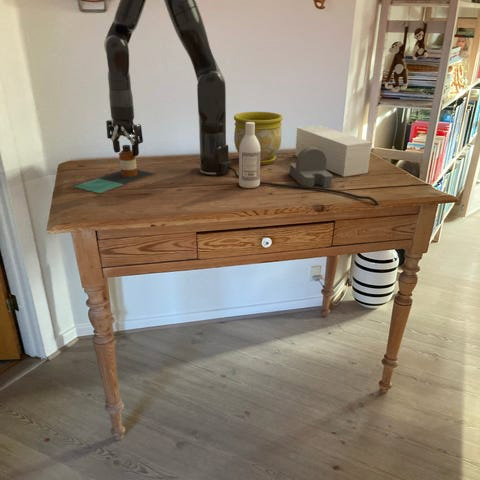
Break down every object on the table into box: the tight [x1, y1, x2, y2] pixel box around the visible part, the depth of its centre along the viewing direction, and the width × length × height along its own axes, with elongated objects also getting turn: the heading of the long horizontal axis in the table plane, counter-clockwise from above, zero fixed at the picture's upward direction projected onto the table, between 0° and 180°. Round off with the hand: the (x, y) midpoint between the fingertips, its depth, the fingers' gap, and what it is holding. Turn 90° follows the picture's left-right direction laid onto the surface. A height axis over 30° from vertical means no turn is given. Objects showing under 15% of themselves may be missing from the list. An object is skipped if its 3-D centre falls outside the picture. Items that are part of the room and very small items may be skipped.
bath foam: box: [238, 122, 261, 189], centre depth 169 cm, size 7×7×20 cm
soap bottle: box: [118, 144, 138, 177], centre depth 181 cm, size 6×6×10 cm
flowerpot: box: [233, 111, 284, 166], centre depth 197 cm, size 18×18×16 cm
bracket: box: [289, 147, 334, 188], centre depth 177 cm, size 10×18×11 cm, turn 13°
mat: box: [73, 169, 154, 195], centre depth 178 cm, size 12×26×1 cm, turn 147°
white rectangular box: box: [294, 124, 373, 178], centre depth 195 cm, size 32×11×11 cm, turn 27°
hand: (126, 154), depth 180 cm, fingers open, 8 cm apart
